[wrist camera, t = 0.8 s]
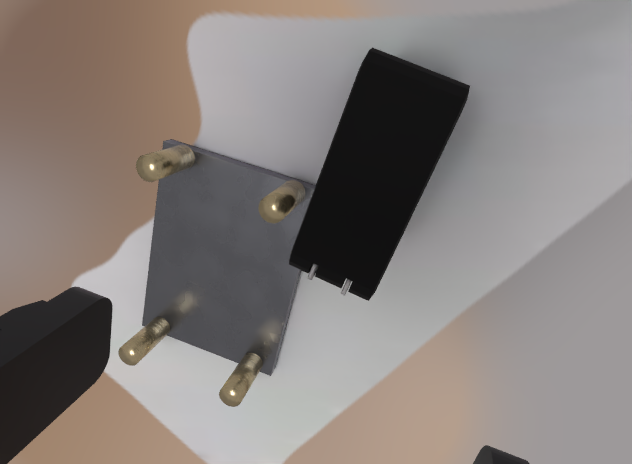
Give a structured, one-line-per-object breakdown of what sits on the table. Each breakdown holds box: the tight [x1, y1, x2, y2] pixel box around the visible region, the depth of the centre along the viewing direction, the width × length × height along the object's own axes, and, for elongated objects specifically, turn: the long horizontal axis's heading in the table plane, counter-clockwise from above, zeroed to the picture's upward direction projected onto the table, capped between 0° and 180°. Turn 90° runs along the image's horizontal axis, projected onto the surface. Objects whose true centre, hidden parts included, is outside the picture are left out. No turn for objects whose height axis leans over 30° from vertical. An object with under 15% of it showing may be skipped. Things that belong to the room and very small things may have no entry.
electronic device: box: [289, 48, 470, 301], centre depth 23 cm, size 4×10×10 cm, turn 159°
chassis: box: [119, 139, 316, 407], centre depth 31 cm, size 15×11×5 cm
